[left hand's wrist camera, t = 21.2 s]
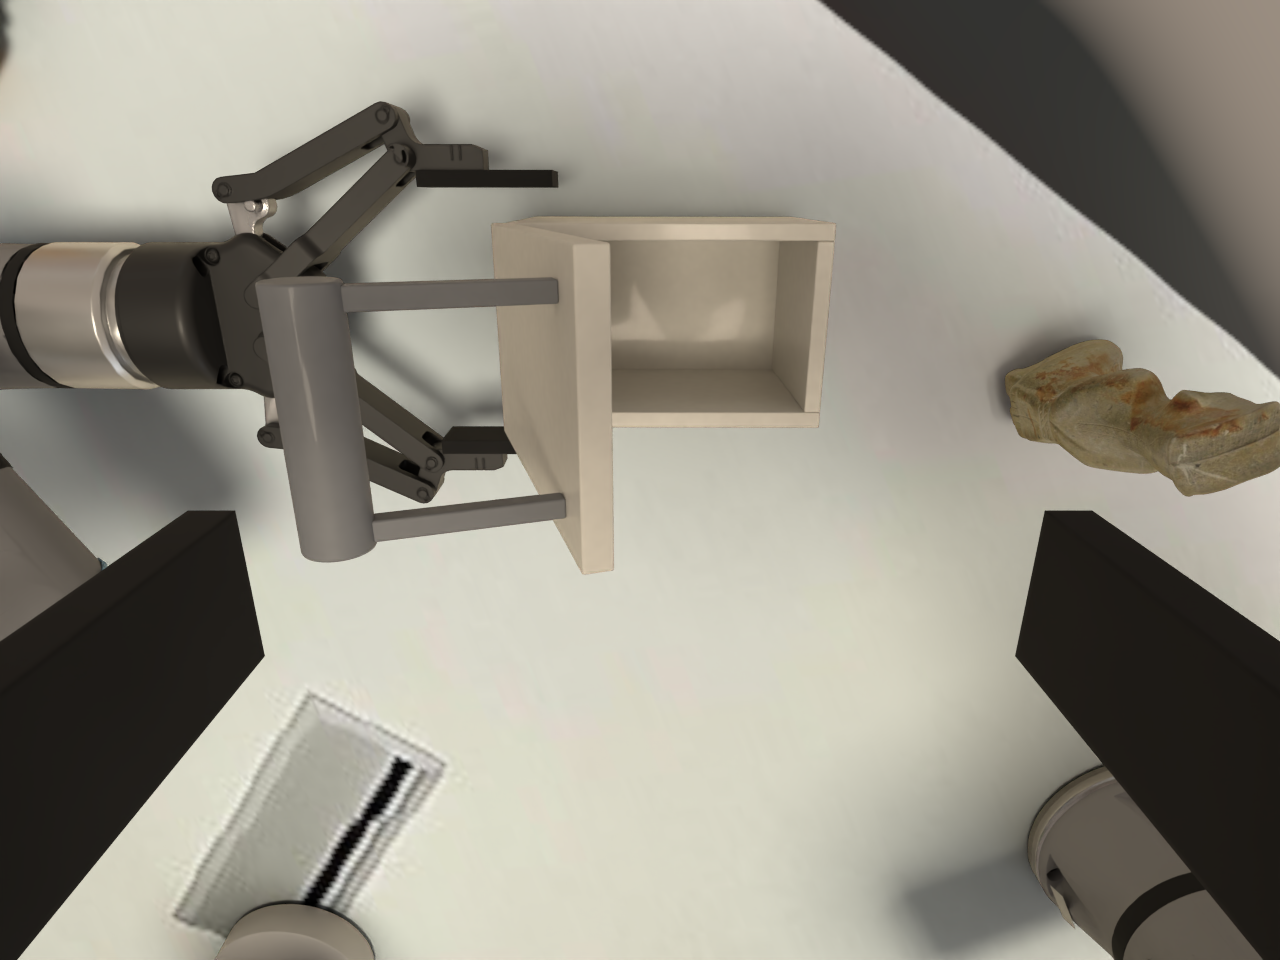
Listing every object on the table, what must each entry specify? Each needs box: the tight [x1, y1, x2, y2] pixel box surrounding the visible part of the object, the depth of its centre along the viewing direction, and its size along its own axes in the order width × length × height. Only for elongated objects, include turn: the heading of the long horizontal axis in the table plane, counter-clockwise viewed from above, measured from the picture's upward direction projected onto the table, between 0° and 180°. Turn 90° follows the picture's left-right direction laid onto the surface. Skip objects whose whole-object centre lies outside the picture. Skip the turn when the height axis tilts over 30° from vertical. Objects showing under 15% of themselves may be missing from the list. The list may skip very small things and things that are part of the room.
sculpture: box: [1005, 340, 1280, 497], centre depth 41 cm, size 6×7×15 cm
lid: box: [255, 223, 614, 575], centre depth 27 cm, size 16×10×9 cm
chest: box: [507, 216, 836, 428], centre depth 41 cm, size 15×10×11 cm, turn 90°
